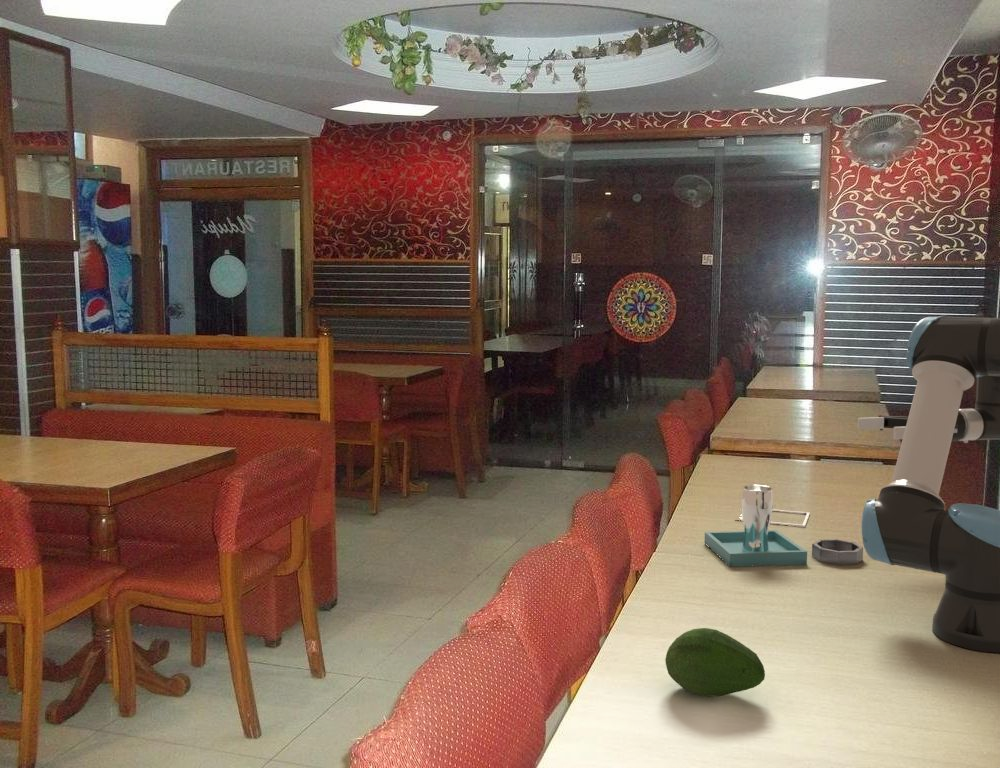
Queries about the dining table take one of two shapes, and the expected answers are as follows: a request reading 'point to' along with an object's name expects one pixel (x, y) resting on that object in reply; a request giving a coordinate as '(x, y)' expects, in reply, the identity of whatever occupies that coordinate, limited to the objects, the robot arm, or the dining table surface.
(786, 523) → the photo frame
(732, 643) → the fruit
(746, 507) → the silver metal tumbler
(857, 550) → the holder ring
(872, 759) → the dining table surface
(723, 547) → the tray
